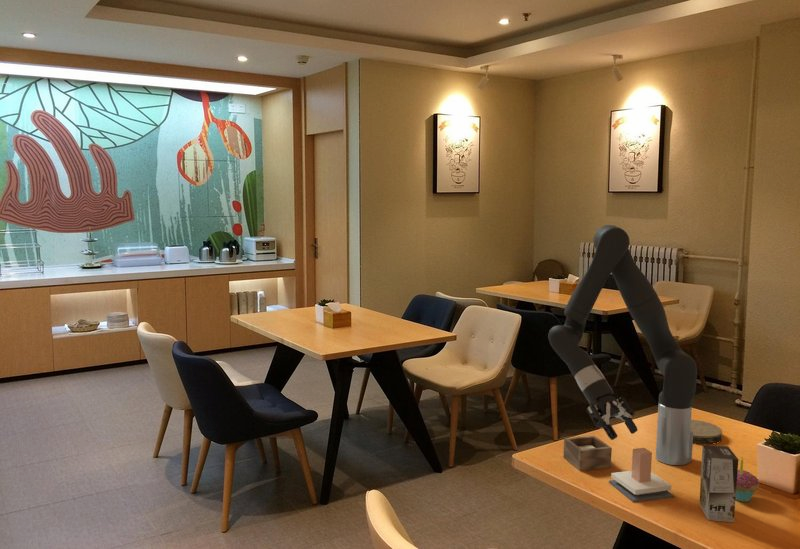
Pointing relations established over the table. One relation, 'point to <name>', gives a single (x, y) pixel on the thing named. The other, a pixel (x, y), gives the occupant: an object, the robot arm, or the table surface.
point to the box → (587, 453)
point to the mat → (642, 496)
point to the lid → (641, 475)
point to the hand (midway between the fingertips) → (625, 435)
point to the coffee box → (718, 483)
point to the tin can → (705, 432)
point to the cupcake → (745, 484)
